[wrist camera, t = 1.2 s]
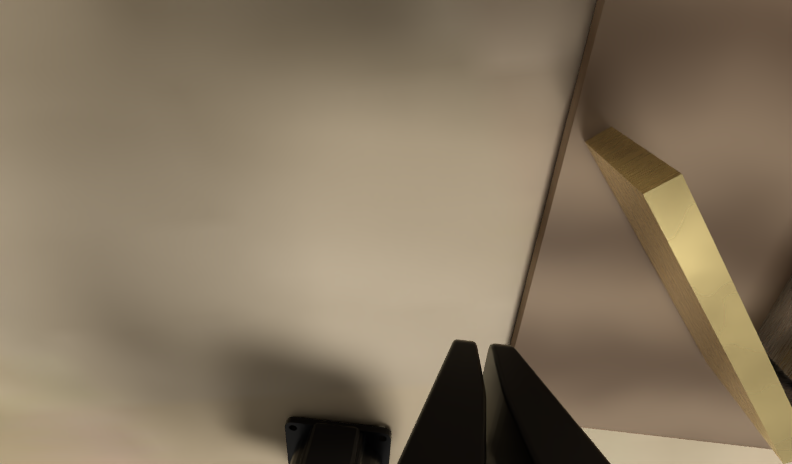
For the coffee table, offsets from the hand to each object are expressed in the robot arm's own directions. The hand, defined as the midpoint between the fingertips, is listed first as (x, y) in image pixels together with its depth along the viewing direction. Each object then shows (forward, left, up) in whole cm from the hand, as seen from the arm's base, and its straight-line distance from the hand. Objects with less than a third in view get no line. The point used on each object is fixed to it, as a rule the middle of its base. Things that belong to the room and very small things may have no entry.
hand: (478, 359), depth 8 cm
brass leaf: (-3, -9, -10) cm, 14 cm away
